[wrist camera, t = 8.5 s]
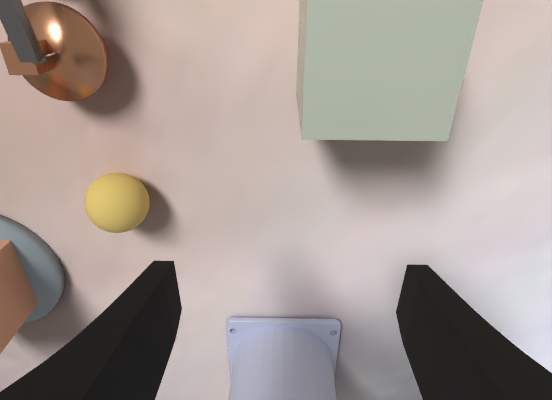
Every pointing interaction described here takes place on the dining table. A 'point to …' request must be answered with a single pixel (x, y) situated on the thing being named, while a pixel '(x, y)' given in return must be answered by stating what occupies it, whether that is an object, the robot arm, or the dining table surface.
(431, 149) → the dining table surface
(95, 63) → the balance
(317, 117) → the sage green cube
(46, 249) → the saucer
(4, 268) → the peach matte cube
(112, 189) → the ball
